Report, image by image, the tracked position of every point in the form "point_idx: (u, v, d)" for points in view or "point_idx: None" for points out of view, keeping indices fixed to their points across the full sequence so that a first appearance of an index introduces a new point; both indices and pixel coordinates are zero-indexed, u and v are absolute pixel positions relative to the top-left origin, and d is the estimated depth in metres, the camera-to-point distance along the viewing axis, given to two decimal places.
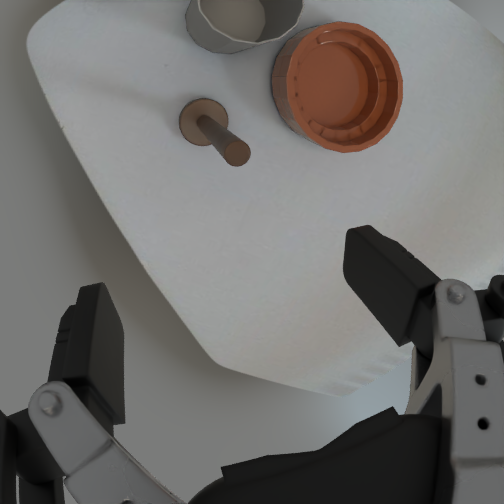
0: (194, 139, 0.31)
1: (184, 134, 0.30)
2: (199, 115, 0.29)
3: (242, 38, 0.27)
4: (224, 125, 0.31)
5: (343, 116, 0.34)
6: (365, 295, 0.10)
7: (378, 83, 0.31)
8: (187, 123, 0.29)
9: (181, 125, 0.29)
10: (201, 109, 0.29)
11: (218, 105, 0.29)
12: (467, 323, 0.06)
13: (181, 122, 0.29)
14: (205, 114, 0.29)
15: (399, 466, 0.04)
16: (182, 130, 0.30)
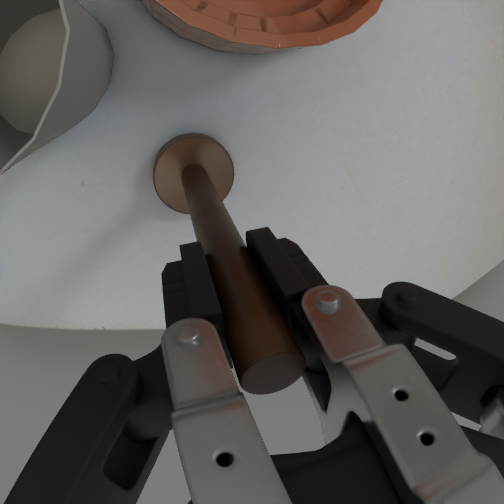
0: None
1: None
2: (179, 178, 0.18)
3: None
4: (216, 149, 0.18)
5: None
6: None
7: None
8: (181, 200, 0.19)
9: (179, 210, 0.19)
10: (171, 171, 0.18)
11: (179, 143, 0.17)
12: (355, 331, 0.06)
13: (174, 208, 0.19)
14: (182, 170, 0.18)
15: None
16: (187, 212, 0.20)
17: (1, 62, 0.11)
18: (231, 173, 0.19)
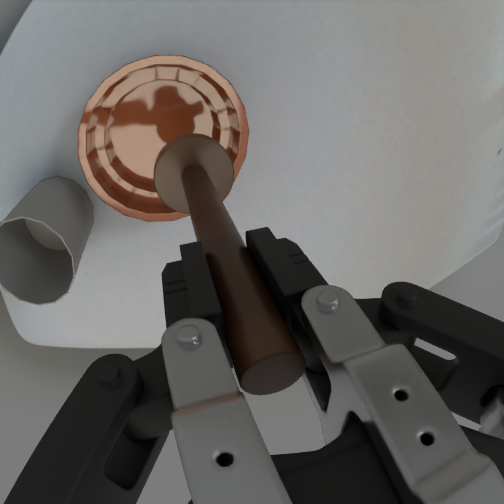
0: None
1: None
2: (179, 179, 0.18)
3: None
4: (216, 150, 0.18)
5: (205, 132, 0.29)
6: None
7: (180, 80, 0.24)
8: (181, 200, 0.19)
9: (179, 210, 0.19)
10: (171, 171, 0.18)
11: (179, 144, 0.17)
12: (354, 331, 0.06)
13: (174, 208, 0.19)
14: (182, 170, 0.18)
15: None
16: (187, 212, 0.20)
17: None
18: (231, 173, 0.19)
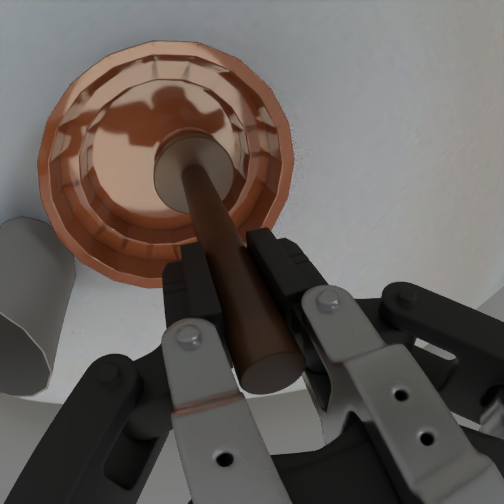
0: None
1: None
2: (179, 178, 0.18)
3: None
4: (216, 150, 0.18)
5: None
6: None
7: (190, 81, 0.16)
8: (181, 200, 0.19)
9: (179, 210, 0.19)
10: (171, 171, 0.18)
11: (179, 143, 0.17)
12: (355, 331, 0.06)
13: (174, 208, 0.19)
14: (182, 170, 0.18)
15: None
16: (187, 212, 0.20)
17: None
18: (231, 173, 0.19)
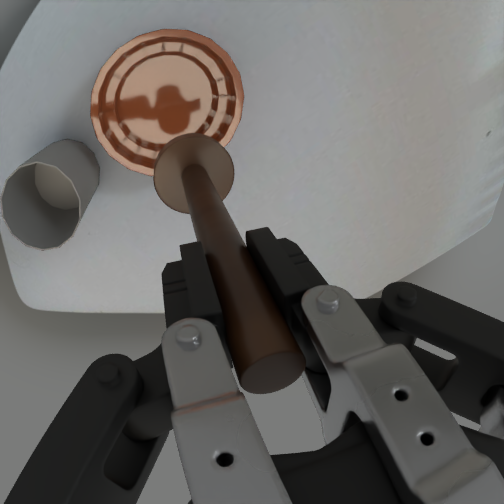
0: None
1: None
2: (179, 178, 0.18)
3: None
4: (216, 149, 0.18)
5: (205, 100, 0.31)
6: None
7: (183, 52, 0.26)
8: (181, 200, 0.19)
9: (179, 209, 0.19)
10: (171, 171, 0.18)
11: (179, 143, 0.17)
12: (354, 331, 0.06)
13: (174, 207, 0.19)
14: (182, 169, 0.18)
15: None
16: (187, 211, 0.20)
17: (37, 168, 0.29)
18: (231, 173, 0.19)
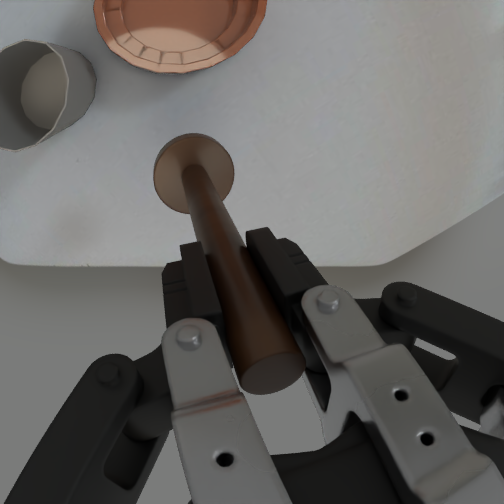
0: None
1: None
2: (179, 178, 0.18)
3: None
4: (216, 150, 0.18)
5: (222, 7, 0.23)
6: None
7: None
8: (181, 200, 0.19)
9: (179, 210, 0.19)
10: (171, 171, 0.18)
11: (179, 143, 0.17)
12: (354, 331, 0.06)
13: (174, 208, 0.19)
14: (182, 170, 0.18)
15: None
16: (187, 212, 0.20)
17: (25, 82, 0.21)
18: (231, 173, 0.19)
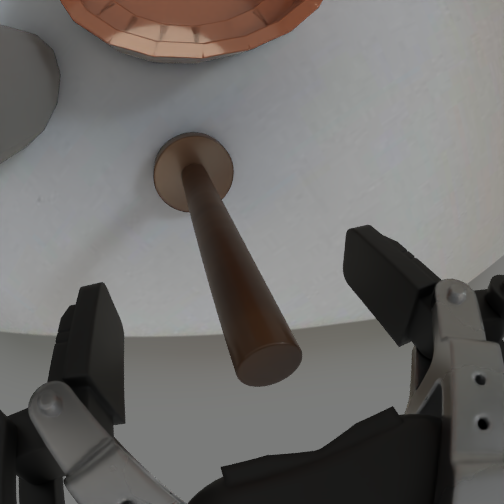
0: None
1: None
2: (179, 177, 0.19)
3: None
4: (216, 148, 0.18)
5: None
6: (365, 295, 0.10)
7: None
8: (181, 199, 0.19)
9: (179, 208, 0.20)
10: (171, 170, 0.18)
11: (179, 142, 0.18)
12: (467, 323, 0.06)
13: (174, 206, 0.19)
14: (182, 168, 0.18)
15: (399, 466, 0.04)
16: (187, 210, 0.20)
17: None
18: (230, 172, 0.19)
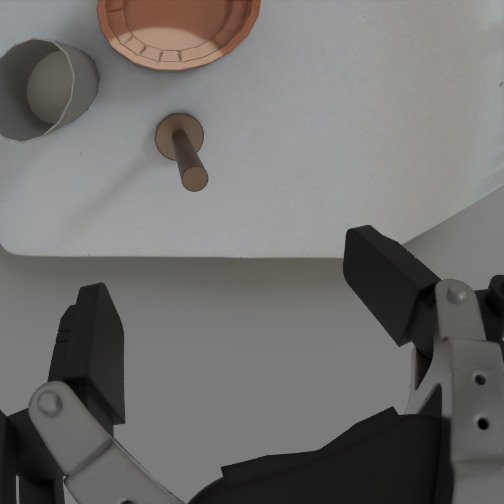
0: None
1: None
2: (170, 138, 0.30)
3: None
4: (192, 121, 0.30)
5: (218, 8, 0.24)
6: (365, 295, 0.10)
7: None
8: (171, 152, 0.31)
9: (170, 157, 0.31)
10: (166, 134, 0.30)
11: (171, 118, 0.29)
12: (467, 323, 0.06)
13: (167, 156, 0.31)
14: (172, 133, 0.30)
15: (399, 466, 0.04)
16: (175, 159, 0.31)
17: (31, 79, 0.22)
18: (202, 135, 0.31)
